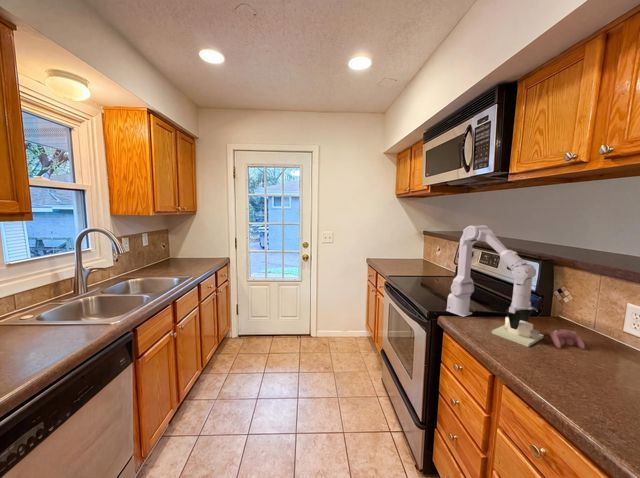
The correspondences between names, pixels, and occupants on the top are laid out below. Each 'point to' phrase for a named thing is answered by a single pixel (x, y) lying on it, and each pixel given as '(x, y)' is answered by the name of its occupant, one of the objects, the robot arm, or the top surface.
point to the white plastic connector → (521, 329)
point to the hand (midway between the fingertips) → (518, 326)
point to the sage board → (516, 336)
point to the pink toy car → (570, 338)
